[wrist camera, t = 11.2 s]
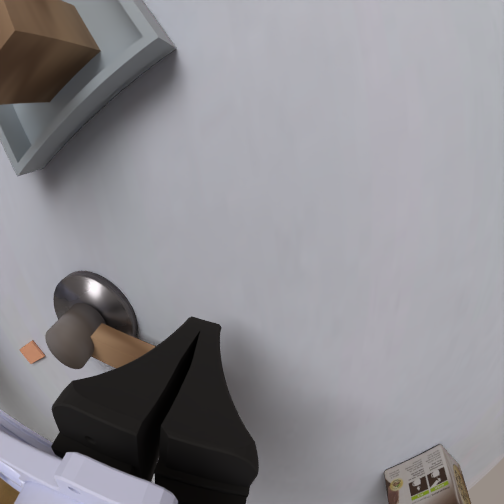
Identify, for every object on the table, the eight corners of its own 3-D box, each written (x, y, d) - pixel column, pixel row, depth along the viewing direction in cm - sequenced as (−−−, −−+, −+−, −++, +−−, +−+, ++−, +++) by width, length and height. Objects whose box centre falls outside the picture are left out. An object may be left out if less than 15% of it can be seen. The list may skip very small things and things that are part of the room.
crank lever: (70, 330, 18) (21, 388, 12) (69, 294, 16) (11, 351, 11) (212, 390, 18) (190, 469, 12) (225, 358, 17) (202, 444, 11)
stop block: (49, 102, 13) (-37, 108, 7) (27, 55, 11) (-52, 50, 6) (100, 50, 11) (14, 30, 6) (74, 5, 10) (-3, -21, 5)
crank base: (99, 360, 20) (94, 366, 19) (46, 293, 18) (40, 298, 17) (156, 335, 18) (151, 342, 17) (94, 254, 16) (88, 259, 16)
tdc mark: (31, 362, 21) (30, 363, 21) (20, 348, 21) (19, 349, 21) (45, 355, 21) (43, 356, 20) (32, 340, 20) (31, 341, 20)
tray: (42, 168, 15) (17, 176, 13) (-7, 56, 12) (-30, 56, 10) (176, 48, 12) (158, 37, 10) (100, -56, 9) (80, -69, 7)
